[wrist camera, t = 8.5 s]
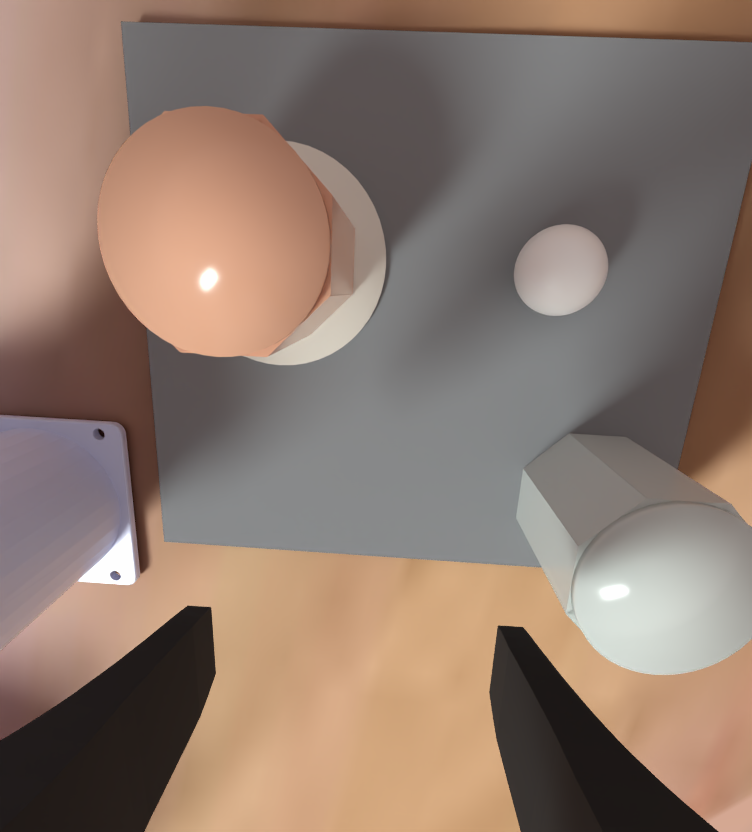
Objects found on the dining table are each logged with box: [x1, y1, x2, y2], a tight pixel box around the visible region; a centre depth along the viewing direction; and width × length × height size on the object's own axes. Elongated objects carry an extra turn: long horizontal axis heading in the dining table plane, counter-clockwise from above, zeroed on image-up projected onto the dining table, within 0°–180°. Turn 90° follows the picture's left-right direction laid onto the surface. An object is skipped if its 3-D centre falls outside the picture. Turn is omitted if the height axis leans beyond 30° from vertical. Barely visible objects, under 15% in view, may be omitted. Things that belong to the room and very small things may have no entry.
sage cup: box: [516, 433, 752, 675], centre depth 16 cm, size 6×6×6 cm
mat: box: [121, 22, 752, 567], centre depth 18 cm, size 22×20×1 cm
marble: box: [514, 224, 608, 316], centre depth 16 cm, size 3×3×3 cm
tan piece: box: [97, 106, 355, 357], centre depth 14 cm, size 6×6×6 cm
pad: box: [245, 141, 386, 365], centre depth 17 cm, size 8×8×1 cm
